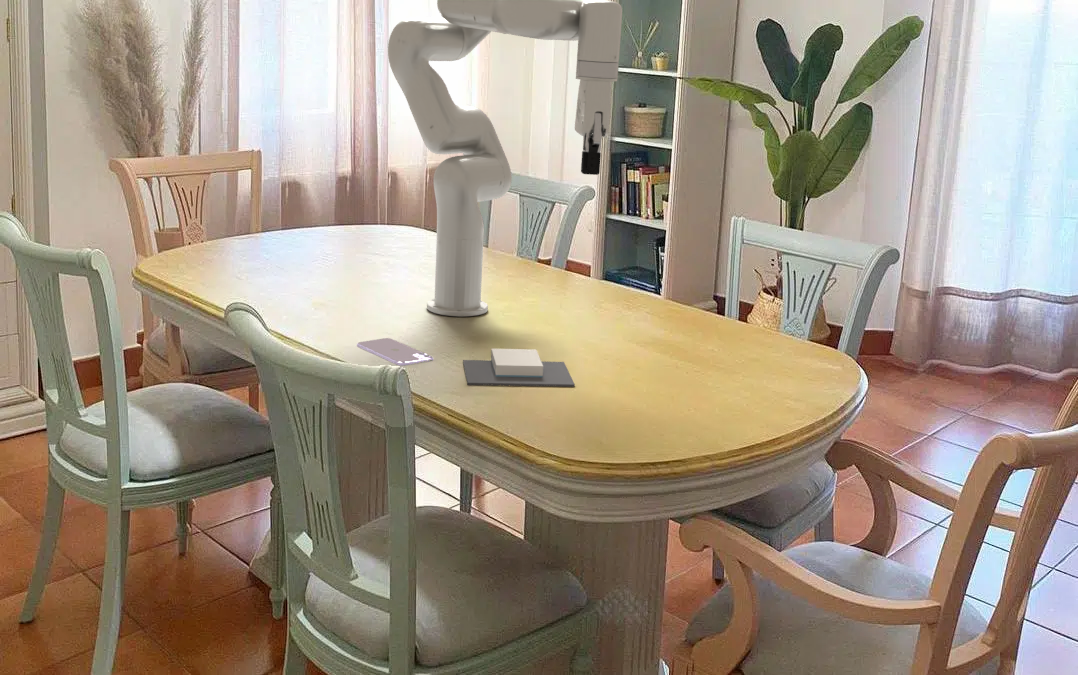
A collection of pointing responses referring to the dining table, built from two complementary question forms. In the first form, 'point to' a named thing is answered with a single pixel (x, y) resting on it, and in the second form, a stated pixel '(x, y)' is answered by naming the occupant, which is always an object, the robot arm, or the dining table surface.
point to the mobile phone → (394, 351)
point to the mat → (485, 375)
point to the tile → (516, 363)
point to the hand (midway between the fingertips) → (590, 173)
